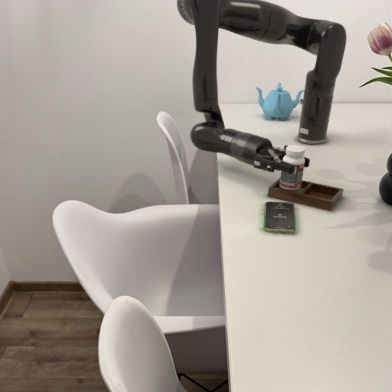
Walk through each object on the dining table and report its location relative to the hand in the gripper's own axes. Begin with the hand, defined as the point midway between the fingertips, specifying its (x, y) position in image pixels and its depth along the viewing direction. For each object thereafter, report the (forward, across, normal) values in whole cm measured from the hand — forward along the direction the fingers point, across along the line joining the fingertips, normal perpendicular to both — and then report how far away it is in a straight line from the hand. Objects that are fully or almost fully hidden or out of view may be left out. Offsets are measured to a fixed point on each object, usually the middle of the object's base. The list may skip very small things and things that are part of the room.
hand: (301, 166), depth 123 cm
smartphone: (+5, -14, +8) cm, 16 cm away
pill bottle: (-2, 0, +6) cm, 7 cm away
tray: (+2, +1, +8) cm, 8 cm away
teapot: (-47, +52, +9) cm, 71 cm away
